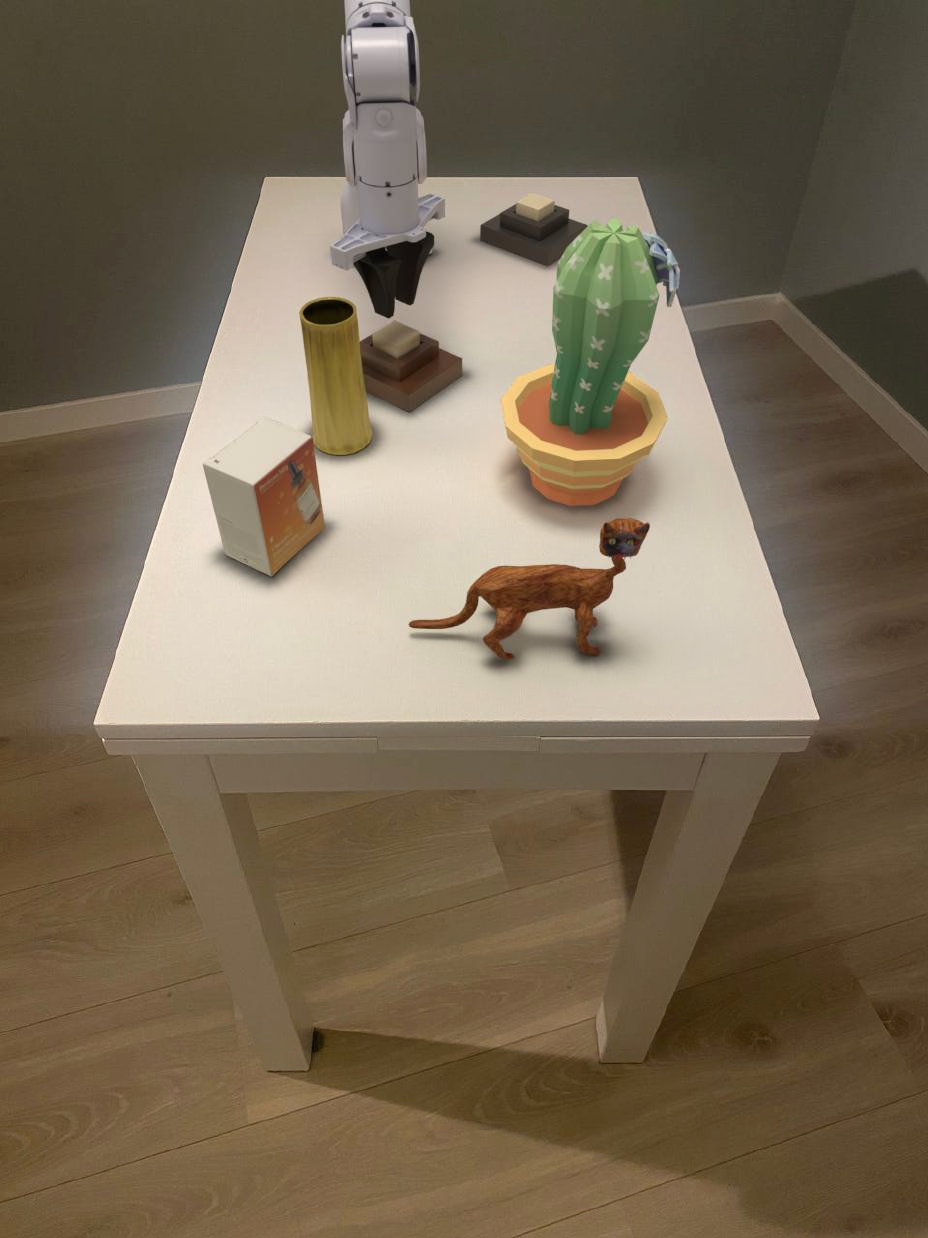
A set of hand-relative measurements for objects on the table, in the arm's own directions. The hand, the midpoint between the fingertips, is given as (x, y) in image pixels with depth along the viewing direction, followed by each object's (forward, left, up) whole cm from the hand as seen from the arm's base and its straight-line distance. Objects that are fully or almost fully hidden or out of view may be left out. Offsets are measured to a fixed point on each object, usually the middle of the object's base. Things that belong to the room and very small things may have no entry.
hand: (394, 307), depth 97 cm
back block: (-7, +35, -8) cm, 37 cm away
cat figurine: (+33, -22, -8) cm, 41 cm away
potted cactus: (+25, -2, -8) cm, 26 cm away
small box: (+9, -27, -8) cm, 30 cm away
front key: (0, 0, -5) cm, 5 cm away
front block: (0, 0, -8) cm, 8 cm away
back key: (-7, +35, -5) cm, 36 cm away
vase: (+3, -12, -8) cm, 15 cm away
